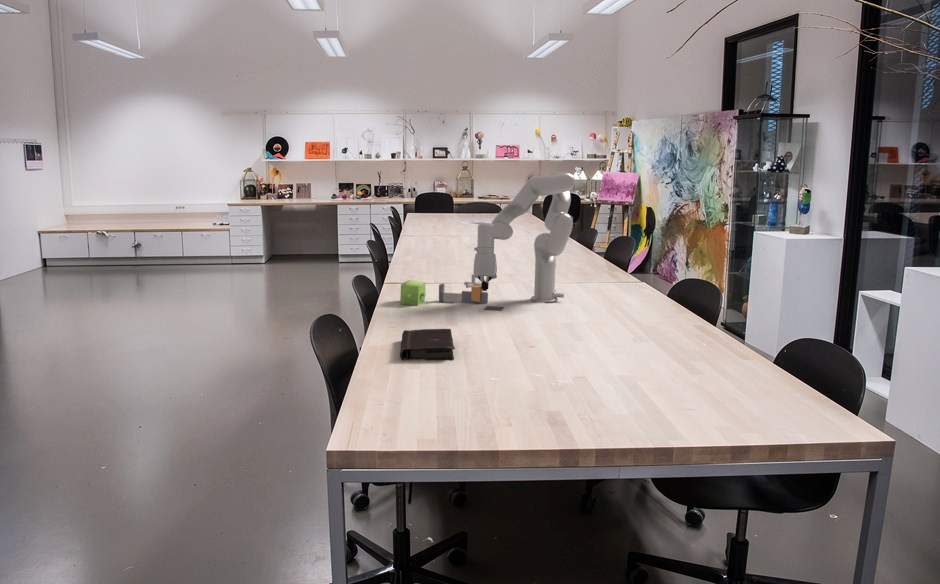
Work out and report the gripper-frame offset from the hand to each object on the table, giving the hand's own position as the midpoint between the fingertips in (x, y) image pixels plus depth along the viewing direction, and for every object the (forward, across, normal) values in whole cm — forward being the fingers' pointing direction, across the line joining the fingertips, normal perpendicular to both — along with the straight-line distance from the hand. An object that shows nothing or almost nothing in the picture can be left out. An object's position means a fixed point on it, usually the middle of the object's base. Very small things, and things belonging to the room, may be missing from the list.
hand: (484, 290), depth 322 cm
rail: (+6, -10, 0) cm, 12 cm away
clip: (+5, -4, 0) cm, 6 cm away
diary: (+7, -4, -81) cm, 81 cm away
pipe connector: (+6, -10, +19) cm, 22 cm away
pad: (+6, +6, -10) cm, 13 cm away
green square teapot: (+7, -31, -8) cm, 33 cm away
